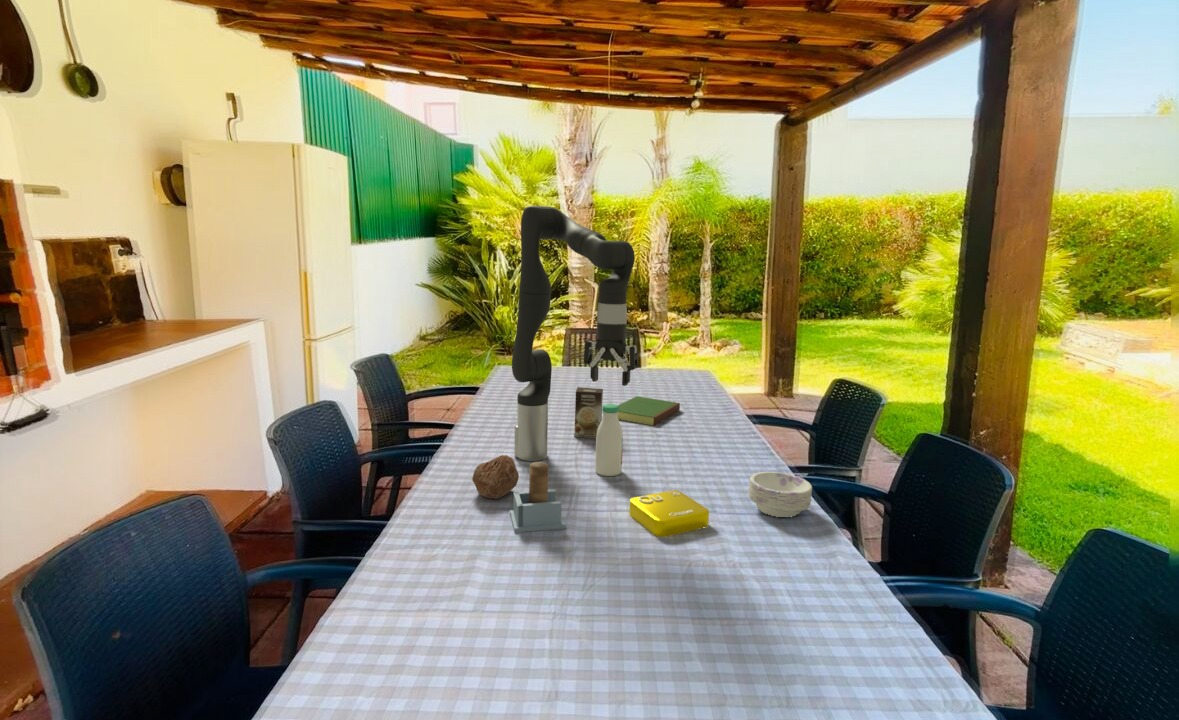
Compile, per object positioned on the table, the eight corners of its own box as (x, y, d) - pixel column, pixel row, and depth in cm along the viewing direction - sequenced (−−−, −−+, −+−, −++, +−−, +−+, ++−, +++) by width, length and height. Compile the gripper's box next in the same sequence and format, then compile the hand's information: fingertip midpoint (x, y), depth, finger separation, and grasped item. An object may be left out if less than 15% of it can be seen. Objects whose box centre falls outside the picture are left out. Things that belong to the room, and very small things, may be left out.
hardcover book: (654, 427, 233) (655, 417, 233) (608, 419, 242) (609, 409, 242) (680, 411, 255) (680, 402, 254) (637, 404, 264) (637, 395, 263)
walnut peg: (524, 518, 153) (526, 466, 151) (535, 511, 157) (536, 460, 154) (540, 522, 151) (541, 470, 149) (550, 515, 155) (552, 464, 152)
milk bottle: (619, 478, 183) (621, 410, 179) (592, 475, 184) (594, 408, 180) (623, 468, 190) (626, 403, 186) (597, 466, 191) (599, 401, 188)
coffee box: (573, 437, 218) (574, 391, 215) (575, 431, 224) (576, 386, 221) (600, 438, 217) (601, 392, 214) (602, 433, 223) (603, 388, 220)
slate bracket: (514, 532, 148) (514, 508, 147) (509, 514, 157) (509, 491, 156) (565, 528, 151) (566, 504, 150) (558, 510, 160) (558, 487, 159)
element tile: (658, 540, 147) (659, 520, 146) (626, 514, 160) (626, 496, 159) (711, 528, 154) (713, 509, 153) (676, 504, 167) (677, 487, 166)
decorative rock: (503, 481, 178) (503, 446, 176) (529, 493, 171) (529, 457, 169) (463, 493, 169) (463, 457, 167) (488, 507, 161) (488, 469, 160)
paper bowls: (809, 503, 168) (812, 475, 167) (809, 528, 154) (812, 497, 152) (750, 495, 173) (752, 467, 171) (744, 517, 159) (746, 487, 157)
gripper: (580, 320, 163) (578, 382, 166) (631, 324, 157) (629, 389, 160) (593, 317, 170) (591, 377, 173) (643, 321, 163) (641, 383, 166)
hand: (609, 383), depth 166 cm, fingers open, 8 cm apart
